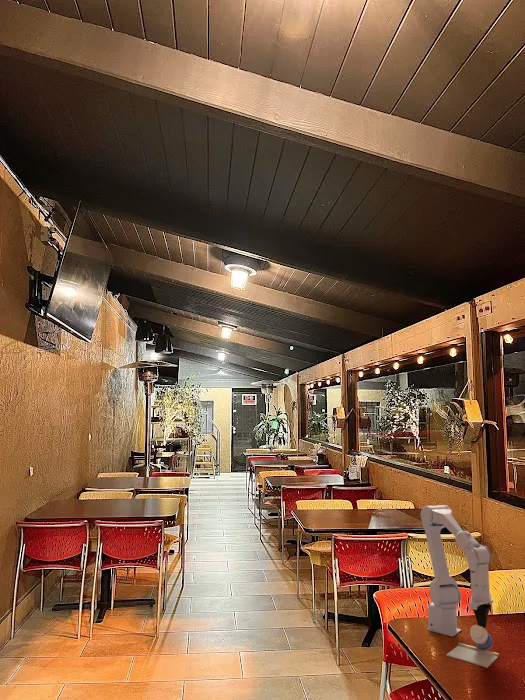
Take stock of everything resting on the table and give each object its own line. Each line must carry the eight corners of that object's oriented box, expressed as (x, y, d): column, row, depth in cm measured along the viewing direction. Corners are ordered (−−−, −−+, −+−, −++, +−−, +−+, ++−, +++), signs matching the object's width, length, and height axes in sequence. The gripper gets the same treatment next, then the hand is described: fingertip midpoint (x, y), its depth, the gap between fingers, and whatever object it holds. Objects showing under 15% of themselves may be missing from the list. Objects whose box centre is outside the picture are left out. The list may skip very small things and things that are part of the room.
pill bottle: (486, 654, 185) (477, 644, 179) (473, 642, 189) (464, 632, 184) (496, 641, 186) (488, 630, 180) (483, 629, 190) (474, 619, 185)
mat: (446, 655, 182) (446, 654, 182) (458, 646, 190) (458, 645, 190) (487, 667, 174) (487, 666, 174) (498, 657, 181) (497, 656, 181)
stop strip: (458, 646, 190) (458, 643, 190) (459, 645, 190) (459, 642, 190) (498, 657, 181) (497, 654, 181) (499, 656, 182) (498, 653, 182)
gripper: (484, 591, 180) (486, 636, 178) (499, 582, 191) (501, 624, 189) (462, 587, 184) (464, 631, 182) (478, 578, 195) (480, 619, 193)
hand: (482, 627), depth 186 cm, fingers closed, pressing on pill bottle
